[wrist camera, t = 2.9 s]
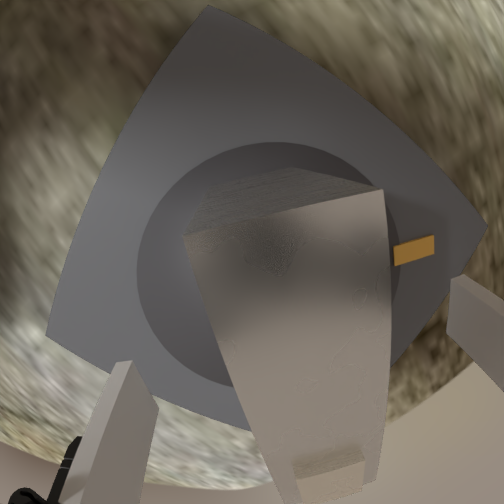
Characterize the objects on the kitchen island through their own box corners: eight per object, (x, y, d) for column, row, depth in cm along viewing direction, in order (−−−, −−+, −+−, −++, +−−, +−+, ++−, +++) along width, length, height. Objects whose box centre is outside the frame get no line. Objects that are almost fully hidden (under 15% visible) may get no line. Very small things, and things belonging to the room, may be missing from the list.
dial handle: (210, 186, 14) (178, 243, 5) (292, 167, 14) (395, 192, 5) (263, 379, 18) (286, 514, 9) (325, 363, 18) (378, 488, 9)
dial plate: (54, 324, 18) (44, 336, 16) (209, 16, 13) (208, 3, 11) (306, 433, 23) (310, 448, 21) (475, 220, 18) (490, 226, 16)
